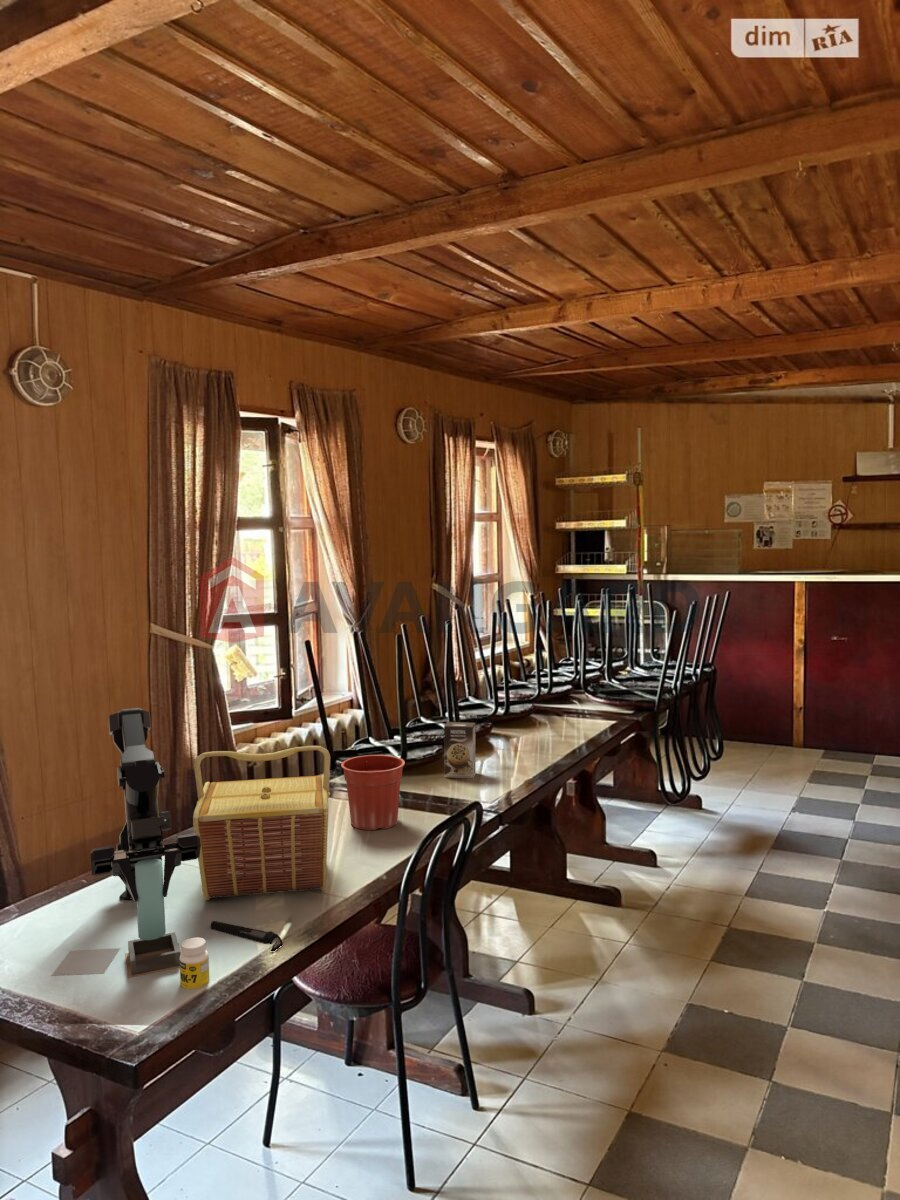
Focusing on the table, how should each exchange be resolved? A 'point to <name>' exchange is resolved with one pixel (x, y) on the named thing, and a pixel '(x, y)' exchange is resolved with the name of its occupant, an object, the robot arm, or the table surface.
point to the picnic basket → (262, 830)
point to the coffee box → (459, 749)
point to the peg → (150, 899)
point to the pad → (86, 962)
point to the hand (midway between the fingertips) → (150, 898)
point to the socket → (152, 955)
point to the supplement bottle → (194, 963)
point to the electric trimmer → (248, 933)
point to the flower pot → (373, 790)
